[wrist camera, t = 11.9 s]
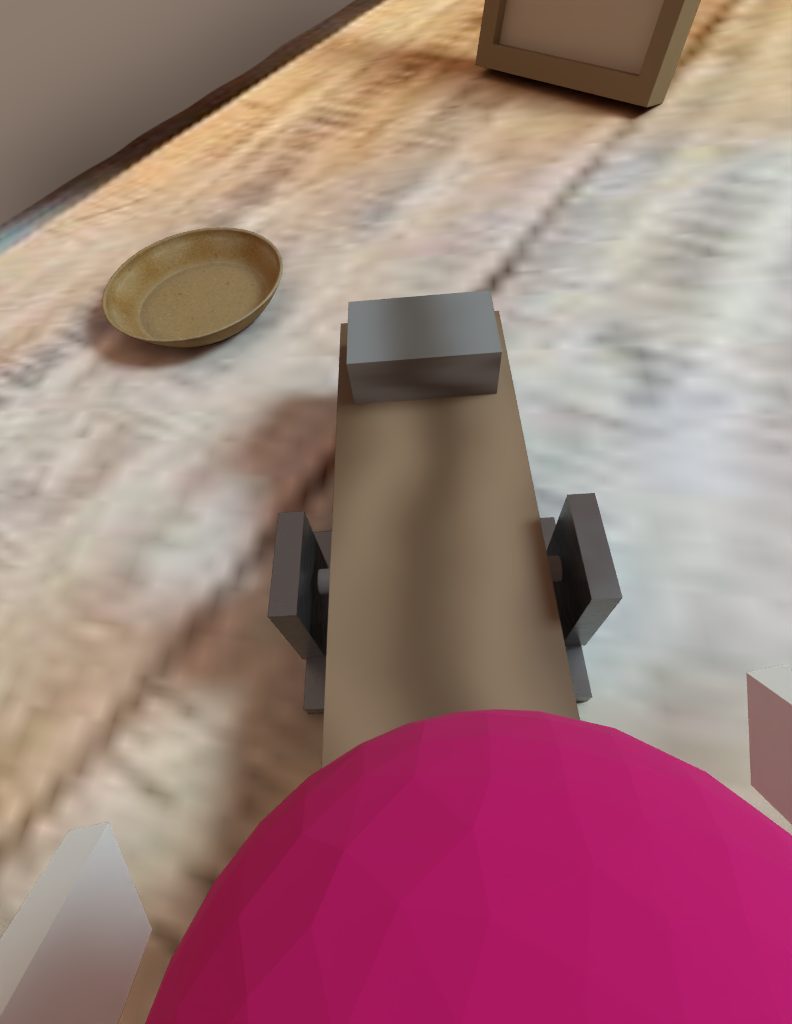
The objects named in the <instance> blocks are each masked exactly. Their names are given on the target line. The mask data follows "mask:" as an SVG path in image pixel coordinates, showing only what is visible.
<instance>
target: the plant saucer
mask: <svg viewBox="0 0 792 1024" xmlns="http://www.w3.org/2000/svg"><path fill="white" fill-rule="evenodd" d="M282 269H283V264H282V258H281V255H280V253H279V251H278V250H277V248H276V247H275V246H274V245H273V244H272V243H271V242H270V241H269V240H268V239H266V238H264V237H263V236H261V235H258V234H256V233H254V232H251V231H248V230H243V229H237V228H227V227H224V228H219V227H217V228H204V229H198V230H192V231H188V232H183V233H180V234H176V235H173V236H170V237H167V238H165V239H162V240H160V241H158V242H156V243H153V244H151V245H150V246H148V247H145V248H144V249H142V250H140V251H139V252H137V253H136V254H135V255H133V256H132V257H131V258H130V259H128V260H127V261H126V262H125V263H123V264H122V265H121V267H120V268H119V269H118V270H117V271H116V272H115V273H114V274H113V276H112V277H111V279H110V280H109V282H108V284H107V286H106V288H105V290H104V294H103V303H102V306H103V310H104V313H105V316H106V318H107V319H108V321H109V322H110V323H111V325H112V326H113V327H115V328H116V329H117V330H119V331H120V332H122V333H124V334H126V335H128V336H131V337H133V338H136V339H139V340H142V341H145V342H149V343H152V344H157V345H162V346H169V347H178V348H188V347H199V346H204V345H209V344H212V343H216V342H219V341H221V340H224V339H226V338H229V337H231V336H233V335H235V334H236V333H238V332H240V331H241V330H243V329H244V328H246V327H247V326H248V325H250V324H251V323H252V322H253V321H254V320H255V319H256V318H257V317H258V316H259V315H260V314H261V313H262V311H263V310H264V309H265V308H266V306H267V305H268V303H269V302H270V300H271V299H272V297H273V295H274V293H275V291H276V289H277V287H278V284H279V282H280V279H281V275H282Z"/></svg>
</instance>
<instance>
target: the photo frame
mask: <svg viewBox="0 0 792 1024" xmlns="http://www.w3.org/2000/svg"><path fill="white" fill-rule="evenodd" d="M700 1H701V0H485V4H484V11H483V18H482V24H481V31H480V37H479V44H478V51H477V57H476V64H475V65H478V66H482V67H486V68H490V69H494V70H498V71H502V72H506V73H510V74H514V75H518V76H522V77H526V78H530V79H534V80H538V81H542V82H546V83H550V84H554V85H558V86H563V87H567V88H571V89H575V90H579V91H583V92H587V93H591V94H595V95H599V96H603V97H607V98H611V99H615V100H619V101H623V102H627V103H631V104H635V105H639V106H643V107H650V106H653V105H657V104H661V103H663V101H664V98H665V95H666V93H667V90H668V87H669V85H670V82H671V79H672V77H673V74H674V71H675V69H676V66H677V63H678V61H679V58H680V55H681V52H682V50H683V47H684V44H685V42H686V39H687V36H688V34H689V31H690V28H691V26H692V23H693V20H694V17H695V15H696V12H697V9H698V7H699V4H700Z"/></svg>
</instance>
